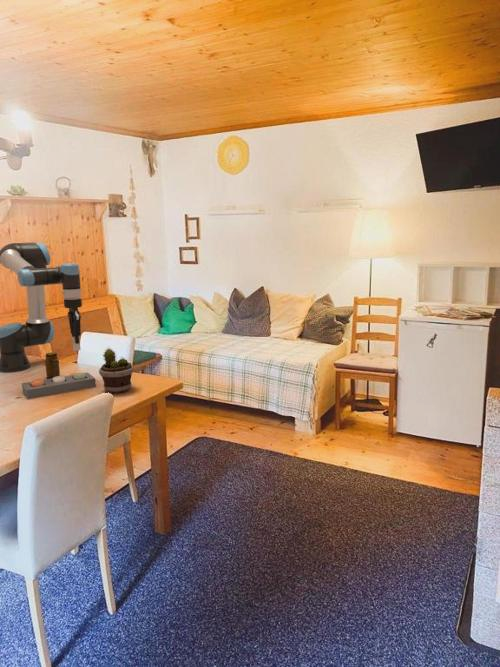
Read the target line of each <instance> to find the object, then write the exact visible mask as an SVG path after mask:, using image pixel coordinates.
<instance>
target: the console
mask: <svg viewBox="0 0 500 667" xmlns="http://www.w3.org/2000/svg"><path fill="white" fill-rule="evenodd" d="M84 373H85V378H83V379H77V380H74V376H73V374H70V375H63V376H64V377H65V382H60V383H53V378H51V379H46V378H44V379H42V380H43V381H44V385H42V386H36V387H32V386H31V381H27V382H26V381H25V382H22V383H21V389H22V393H23V394H24V396H25V398H26V399H27V400H30V399H37V398H42V397H48V396H53V395H58V394H64V393H69V392H75V390H76V391H79V390H80V389H81V390H85V389H86V388H87V389H92V388H96V387H97V380H96V377H94V376H93V375H91V373H89V372H84ZM87 389H86V390H87Z"/></svg>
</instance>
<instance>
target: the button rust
mask: <svg viewBox="0 0 500 667" xmlns="http://www.w3.org/2000/svg"><path fill="white" fill-rule="evenodd" d="M43 380H44V379H33V380H31V381H30V382H31V386H32V387H36V386H42V385H44V381H43Z"/></svg>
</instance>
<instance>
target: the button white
mask: <svg viewBox="0 0 500 667" xmlns="http://www.w3.org/2000/svg"><path fill="white" fill-rule="evenodd" d="M64 376H65V375H60V376H56V377H53V383H60V382H65V377H64Z"/></svg>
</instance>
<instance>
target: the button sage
mask: <svg viewBox="0 0 500 667" xmlns="http://www.w3.org/2000/svg"><path fill="white" fill-rule="evenodd" d="M85 373H86V372H76V373H74V374H72V375H73V376H74V380H77V379H83V378H85Z"/></svg>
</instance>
